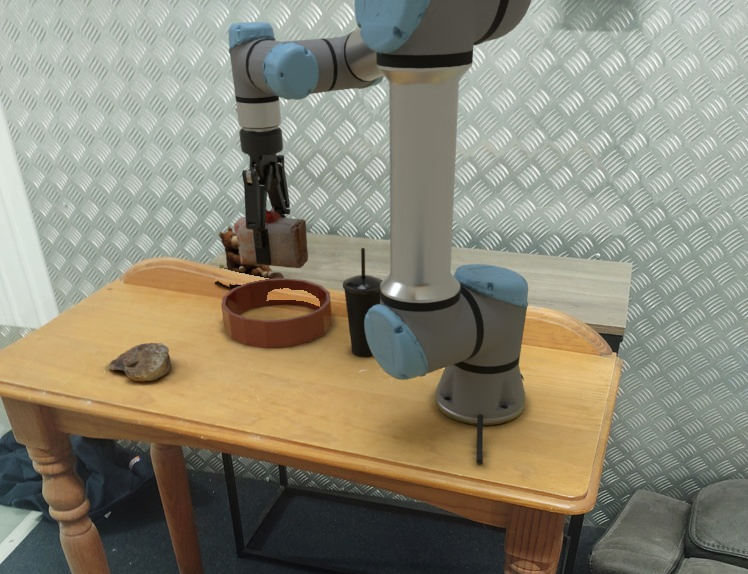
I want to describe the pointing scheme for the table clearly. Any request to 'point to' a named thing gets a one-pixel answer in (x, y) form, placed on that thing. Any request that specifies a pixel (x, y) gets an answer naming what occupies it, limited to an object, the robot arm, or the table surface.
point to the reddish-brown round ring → (275, 330)
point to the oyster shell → (144, 362)
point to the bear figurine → (235, 263)
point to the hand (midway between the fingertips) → (272, 255)
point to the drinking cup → (360, 306)
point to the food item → (275, 241)
